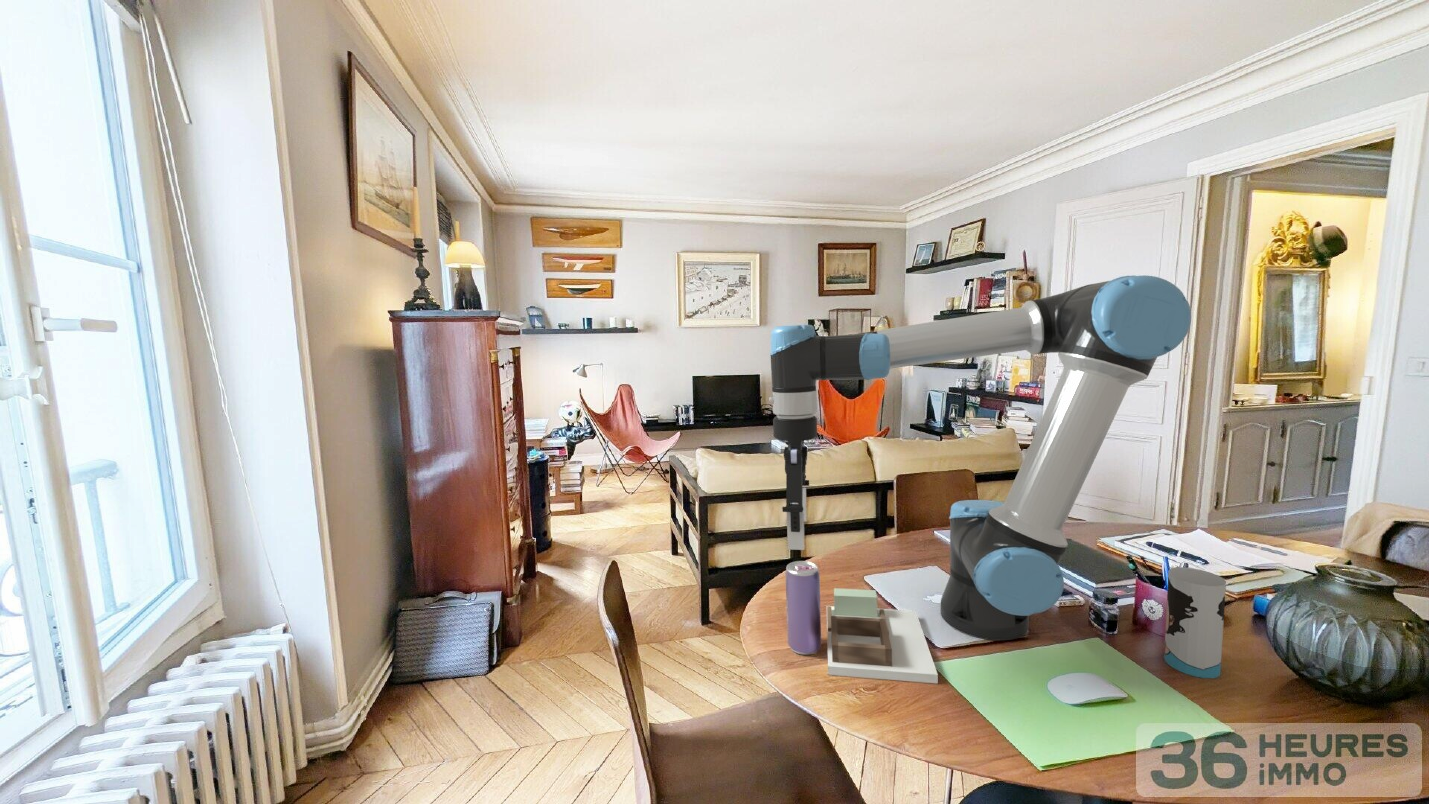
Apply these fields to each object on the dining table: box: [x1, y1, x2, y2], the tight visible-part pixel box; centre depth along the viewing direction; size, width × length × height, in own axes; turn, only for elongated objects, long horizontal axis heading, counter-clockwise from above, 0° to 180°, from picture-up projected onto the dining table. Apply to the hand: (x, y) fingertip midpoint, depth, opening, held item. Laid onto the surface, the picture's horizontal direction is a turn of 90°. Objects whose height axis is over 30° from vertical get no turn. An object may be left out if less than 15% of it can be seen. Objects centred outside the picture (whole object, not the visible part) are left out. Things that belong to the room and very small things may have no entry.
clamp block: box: [833, 587, 878, 617], centre depth 102 cm, size 8×3×4 cm, turn 78°
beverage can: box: [785, 560, 822, 656], centre depth 94 cm, size 6×6×15 cm
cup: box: [1163, 566, 1227, 679], centre depth 83 cm, size 7×7×15 cm
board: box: [826, 605, 939, 684], centre depth 94 cm, size 17×20×2 cm
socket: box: [831, 616, 892, 667], centre depth 91 cm, size 10×10×3 cm
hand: (798, 534), depth 93 cm, fingers open, 13 cm apart
